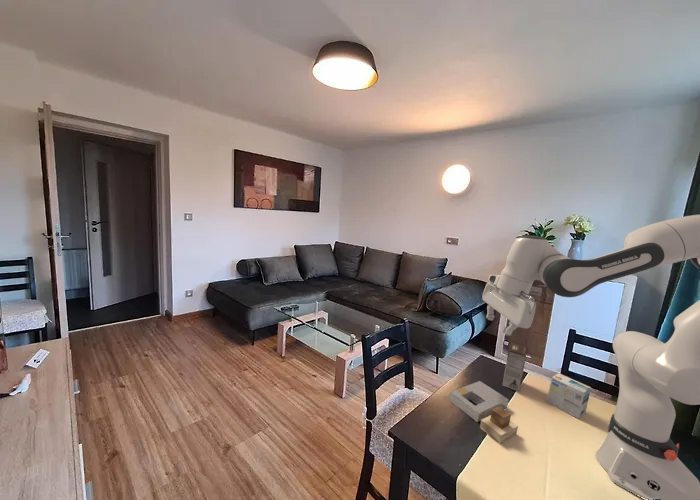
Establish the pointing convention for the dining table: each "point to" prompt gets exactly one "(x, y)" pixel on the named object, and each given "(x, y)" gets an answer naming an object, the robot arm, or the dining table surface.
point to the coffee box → (514, 366)
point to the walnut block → (500, 417)
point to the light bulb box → (569, 395)
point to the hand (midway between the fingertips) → (497, 326)
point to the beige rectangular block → (498, 430)
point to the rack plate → (478, 400)
